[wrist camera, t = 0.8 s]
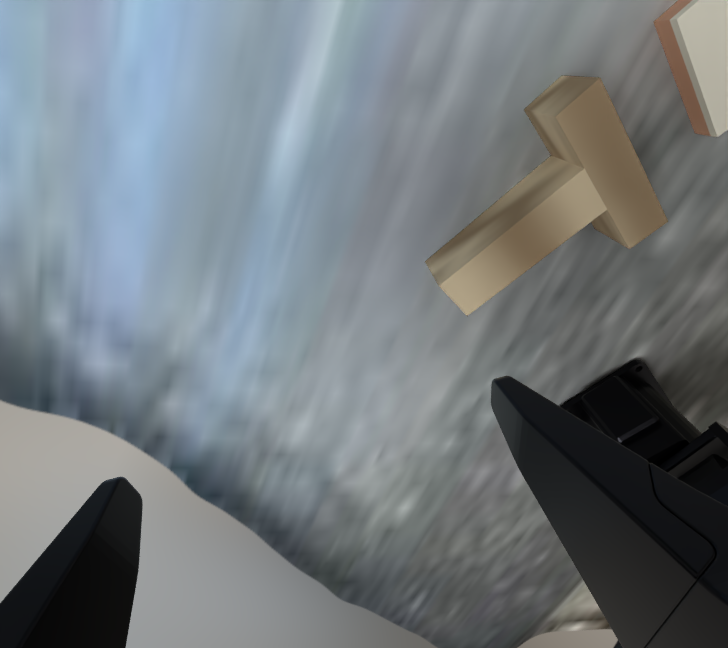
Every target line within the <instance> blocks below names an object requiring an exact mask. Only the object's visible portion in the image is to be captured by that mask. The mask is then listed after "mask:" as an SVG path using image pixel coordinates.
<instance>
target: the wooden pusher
mask: <svg viewBox="0 0 728 648" xmlns="http://www.w3.org/2000/svg"><path fill="white" fill-rule="evenodd" d="M524 111H525V112H526V114H527V116H528V117H529V119H530V121H531V122H532V124H533V126H534V127H535V129H536V131H537V132H538V134H539V136H540V137H541V139H542V141H543V142H544V144H545V146H546V148H547V149H548V151H549V153H550V154H551V156H550V157H549V158H548V159H546V160H545V161H544V162H543V163H542V164H540V165H539V166H538V167H537V168H536V169H535V170H533V171H532V172H531V173H530V174H529V175H527V176H526V177H525V178H524V179H523V180H521V181H520V182H519V183H518V184H517V185H516V186H514V187H513V188H512V189H511V190H510V191H508V192H507V193H506V194H505V195H504V196H502V197H501V198H500V199H499V200H498V201H496V202H495V203H494V204H493V205H492V206H491V207H489V208H488V209H487V210H486V211H485V212H483V213H482V214H481V215H480V216H479V217H477V218H476V219H475V220H474V221H473V222H472V223H470V224H469V225H468V226H467V227H466V228H464V229H463V230H462V231H461V232H460V233H458V234H457V235H456V236H455V237H454V238H453V239H451V240H450V241H449V242H448V243H447V244H445V245H444V246H443V247H442V248H441V249H439V250H438V251H437V252H436V253H435V254H433V255H432V256H431V257H430V258H429V259H428V260H426V261H425V262H426V264H427V266H428V268H429V269H430V271H431V273H432V275H433V277H434V278H435V280H436V282H437V284H438V285H439V287H440V288H441V289H442V290H443V291H444V292H445V293H446V294H447V295H448V296H449V297H450V298H451V299H452V301H453V302H454V303H455V304H456V305H457V306H458V307H459V308H460V309H461V310H462V311H463V312H464V313H465V314H466V316H468V315H469V314H471V313H472V312H473V311H475V310H476V309H477V308H479V307H480V306H481V305H482V304H484V303H485V302H486V301H488V300H489V299H490V298H492V297H493V296H494V295H496V294H497V293H498V292H500V291H501V290H502V289H503V288H505V287H506V286H507V285H509V284H510V283H511V282H513V281H514V280H515V279H517V278H518V277H519V276H521V275H522V274H523V273H524V272H526V271H527V270H528V269H530V268H531V267H532V266H534V265H535V264H536V263H538V262H539V261H540V260H542V259H543V258H544V257H545V256H547V255H548V254H549V253H551V252H552V251H553V250H555V249H556V248H557V247H559V246H560V245H561V244H563V243H564V242H565V241H566V240H568V239H569V238H570V237H572V236H573V235H574V234H576V233H577V232H578V231H580V230H581V229H582V228H584V227H585V226H586V225H588V224H589V223H590V222H591V223H592V225H593V226H594V228H595V229H596V230H598V231H599V232H601V233H603V234H605V235H606V236H608V237H610V238H611V239H613V240H615V241H616V242H618V243H620V244H621V245H623V246H625V247H627V248H628V249H631V248H632V247H633V246H635V245H636V244H638V243H639V242H640V241H642V240H643V239H645V238H646V237H647V236H649V235H650V234H651V233H653V232H654V231H656V230H657V229H658V228H660V227H661V226H663V225H664V224H665V223H667V222H668V220H667V218H666V216H665V214H664V211H663V209H662V207H661V205H660V203H659V201H658V199H657V197H656V195H655V192H654V190H653V188H652V186H651V184H650V182H649V180H648V178H647V175H646V173H645V171H644V169H643V167H642V165H641V163H640V161H639V159H638V156H637V154H636V152H635V150H634V148H633V146H632V144H631V142H630V139H629V137H628V135H627V133H626V131H625V129H624V127H623V125H622V123H621V120H620V118H619V116H618V114H617V112H616V110H615V108H614V106H613V104H612V101H611V99H610V97H609V95H608V93H607V91H606V89H605V87H604V84H603V82H602V80H601V78H597V77H579V76H561V77H560V78H558V79H557V80H556V81H555V82H554V83H553V84H552V85H551V86H550V87H548V88H547V89H546V90H545V91H544V92H543V93H542V94H541V95H540V96H538V97H537V98H536V99H535V100H534V101H533V102H532V103H531V104H530V105H528V106H527V107H526V108H525V109H524Z"/></svg>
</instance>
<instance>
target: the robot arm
mask: <svg viewBox="0 0 728 648" xmlns="http://www.w3.org/2000/svg"><path fill="white" fill-rule="evenodd" d="M491 406H492V409H493V412H494V414H495V416H496V419H497V421H498V423H499V425H500V428H501V430H502V432H503V435H504V437H505V439H506V441H507V444H508V446H509V448H510V450H511V453H512V455H513V457H514V459H515V462H516V464H517V466H518V468H519V470H520V471H521V473H522V475H523V477H524V478H525V480H526V482H527V484H528V485H529V487H530V489H531V491H532V492H533V494H534V496H535V497H536V499H537V501H538V503H539V504H540V506H541V508H542V509H543V511H544V513H545V515H546V516H547V518H548V520H549V522H550V523H551V525H552V527H553V528H554V530H555V532H556V534H557V535H558V537H559V539H560V540H561V542H562V544H563V546H564V547H565V549H566V551H567V553H568V554H569V556H570V558H571V559H572V561H573V563H574V565H575V566H576V568H577V570H578V571H579V573H580V575H581V577H582V578H583V580H584V582H585V583H586V585H587V587H588V589H589V590H590V592H591V594H592V596H593V597H594V599H595V601H596V602H597V604H598V606H599V608H600V609H601V611H602V613H603V614H604V616H605V618H606V620H607V621H608V623H609V625H610V627H611V628H612V630H613V632H614V633H615V635H616V637H617V639H618V640H619V642H620V644H621V645H622V647H623V648H728V428H726V427H724V426H723V425H721V424H720V423H718V422H714V423H713V424H712V425H710V426H709V427H708V428H709V429H708V430H707V431H705V432H704V433H701V432H700V431H699V430H697V429H696V428H695V427H694V426H693V425H692V424H691V423H690V422H689V421H688V420H687V419H686V418H685V417H684V416H683V415H682V414H681V413H680V412H679V411H677V410H676V409H675V408H674V407H673V406H672V404H671V402H670V401H669V399H668V398H667V396H666V395H665V393H664V391H663V390H662V388H661V387H660V385H659V384H658V382H657V381H656V379H655V378H654V376H653V375H652V373H651V372H650V370H649V369H648V367H647V366H646V364H645V363H643V362H642V361H641V360H634V361H632V362H631V363H629V364H627V365H626V366H624V367H623V368H621V369H620V370H618V371H616V372H615V373H613V374H612V375H610V376H608V377H607V378H605V379H604V380H602V381H600V382H599V383H597V384H596V385H594V386H593V387H591V388H589V389H588V390H586V391H585V392H583V393H581V394H580V395H578V396H577V397H575V398H574V399H572V400H570V401H569V402H567V403H566V404H564V405H562V406H561V407H559V406H558V405H556V404H555V403H553V402H551V401H550V400H548V399H546V398H545V397H543V396H541V395H540V394H538V393H537V392H535V391H533V390H532V389H530V388H528V387H527V386H525V385H524V384H522V383H520V382H519V381H517V380H515V379H514V378H512V377H510V376H504V377H500V378H496V379H494V380H493V381H492V386H491ZM141 522H142V498H141V496H140V494H139V493H138V492H137V490H136V489H135V488H134V487H133V486H132V485H131V484H130V483H129V482H128V480H127V479H126V478H124V477H117V478H113V479H109V480H106V481H104V482H103V483H102V484H101V485H100V486H99V487H98V488H97V489H96V490H95V491H94V493H93V494H92V495H91V496H90V497H89V499H88V500H87V501H86V502H85V503H84V505H83V506H82V507H81V508H80V509H79V511H78V512H77V513H76V514H75V515H74V516H73V518H72V519H71V520H70V521H69V522H68V524H67V525H66V526H65V527H64V528H63V529H62V531H61V532H60V533H59V534H58V535H57V537H56V538H55V539H54V540H53V541H52V543H51V544H50V545H49V546H48V547H47V548H46V550H45V551H44V552H43V553H42V554H41V556H40V557H39V558H38V559H37V560H36V561H35V563H34V564H33V565H32V566H31V567H30V569H29V570H28V571H27V572H26V573H25V575H24V576H23V577H22V578H21V579H20V580H19V582H18V583H17V584H16V585H15V586H14V588H13V589H12V590H11V591H10V592H9V594H8V595H7V596H6V597H5V598H4V600H3V601H2V602H1V603H0V648H125V647H126V641H127V635H128V629H129V623H130V617H131V611H132V605H133V600H134V594H135V588H136V582H137V575H138V567H139V554H140V538H141Z"/></svg>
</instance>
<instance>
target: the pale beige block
mask: <svg viewBox="0 0 728 648" xmlns="http://www.w3.org/2000/svg"><path fill="white" fill-rule="evenodd" d="M654 25H655V27H656V30H657V33H658V35H659V38H660V41H661V44H662V46H663V49H664V52H665V54H666V57H667V60H668V62H669V65H670V68H671V70H672V73H673V76H674V79H675V81H676V84H677V87H678V89H679V92H680V95H681V97H682V100H683V103H684V105H685V108H686V111H687V114H688V116H689V119H690V122H691V124H692V127H693V130H694V132H695V133H696V134H701V135H707V136H712V137H719V136H720V135H721V134H723V133H724V132H725V131H727V130H728V0H678V1H677V2H676V3H675V4H674V5H672V6H671V7H670V8H669V9H668V10H667V11H666V12H664V13H663V14H662V15H661V16H660V17H659V18H658V19H656V20H655V21H654Z"/></svg>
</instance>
